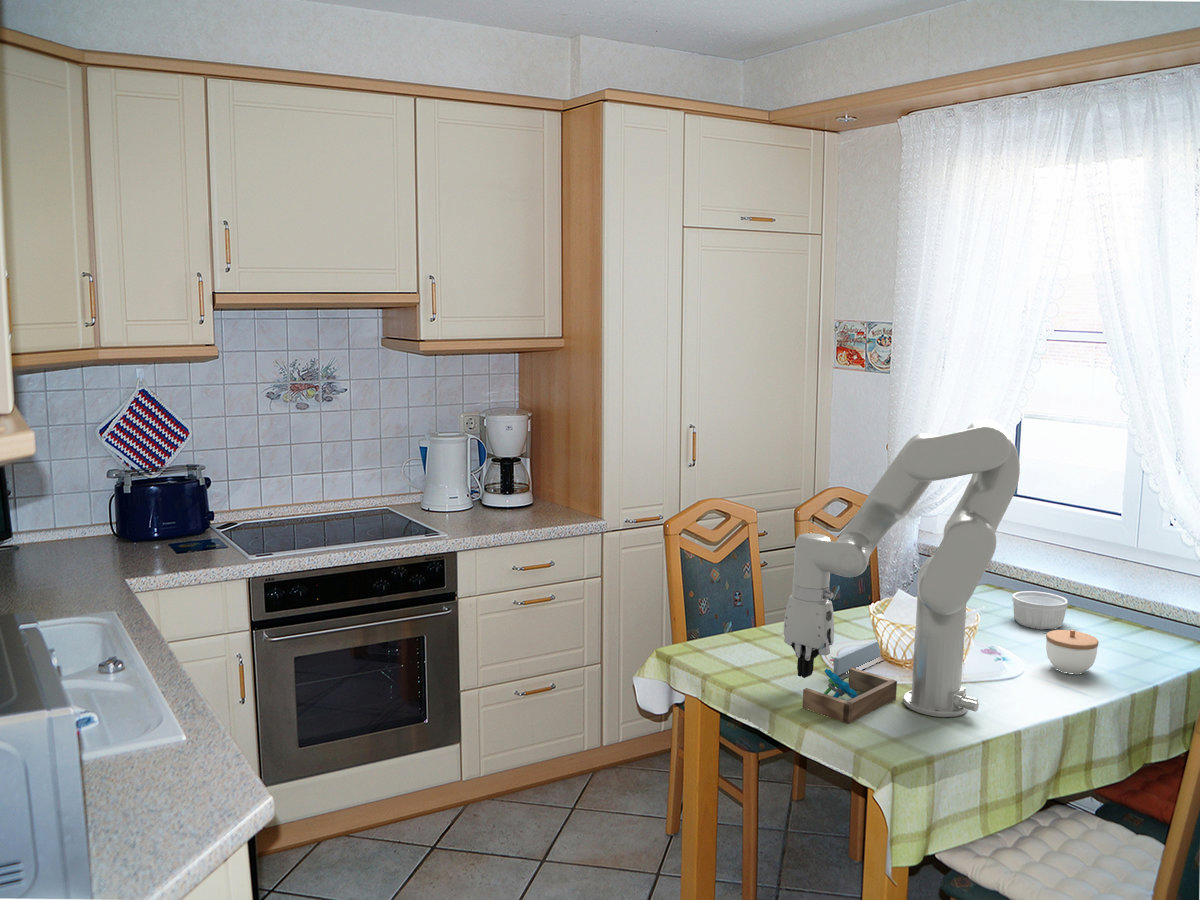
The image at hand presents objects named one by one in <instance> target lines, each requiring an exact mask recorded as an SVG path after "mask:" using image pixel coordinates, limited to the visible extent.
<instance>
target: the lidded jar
mask: <svg viewBox="0 0 1200 900" xmlns="http://www.w3.org/2000/svg"><path fill="white" fill-rule="evenodd" d="M1045 636H1046V637H1045V638H1046V641H1045V643H1046V645H1045V647H1046V654H1047V655H1046V656H1047V658H1048V660H1049V663H1051V665H1052V666H1053V667H1054V668H1056V669H1058V670H1060V671H1062V672H1067V673H1073V674H1080V673H1084V674H1085V673H1086V672H1087V671H1088V670H1089V669H1090V668H1091V667H1093V665H1094V663H1095V660H1096V659H1097V654H1098V648H1099V647H1098V646H1099V639H1098V638H1096V637H1095V636H1093V635H1091V634H1088V633H1086V632H1082V631H1077V630H1075V629H1070V630H1069V629H1053V630H1050V631H1048V632H1047V633H1046V635H1045ZM1056 669H1055V670H1056ZM1062 672H1061V673H1062Z"/></svg>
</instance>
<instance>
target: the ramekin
mask: <svg viewBox="0 0 1200 900" xmlns="http://www.w3.org/2000/svg"><path fill="white" fill-rule="evenodd" d="M1011 601H1012V602H1013V604H1012V605H1013V616H1014V617H1013V618H1014V620H1015V621H1016V623H1017V624H1019V625H1020V626H1023V625H1024V626H1023V627H1026V626H1027V628H1029V627H1031V628H1030V629H1035V628H1036V630H1044V629H1051V630H1056V629H1055V628H1057V629H1059V628H1060V627H1062V626H1063V623H1064V621H1065V616H1066V611H1067V607H1068V604H1069V602H1068V599H1067V598H1066V597H1063V596H1060V595H1057V594H1055V593H1049V592H1044V591H1043V592H1042V591H1034V590H1033V591H1032V590H1031V591H1030V590H1028V591H1025V590H1024V591H1017V592H1015V593H1013V594H1012V599H1011ZM1058 627H1059V628H1058Z"/></svg>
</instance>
